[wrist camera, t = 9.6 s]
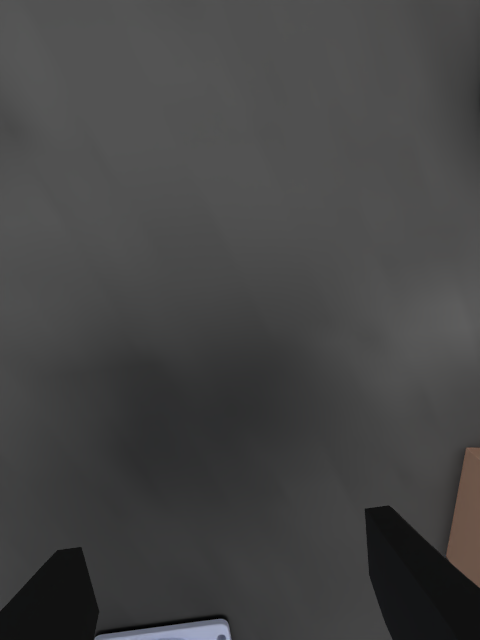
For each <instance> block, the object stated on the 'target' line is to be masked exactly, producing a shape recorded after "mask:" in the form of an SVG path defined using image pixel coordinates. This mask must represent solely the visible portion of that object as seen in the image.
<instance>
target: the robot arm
mask: <svg viewBox="0 0 480 640" xmlns="http://www.w3.org/2000/svg"><path fill="white" fill-rule="evenodd" d="M365 519H366V534H367V548H368V563H369V576H370V579H371V582H372V585H373V588H374V591H375V594H376V597H377V600H378V603H379V606H380V609H381V612H382V615H383V618H384V621H385V623H386V625H387V628H388V630H389V632H390V635H391V637H392V639H393V640H480V588H479V587H478V586H477V585H476V584H475V583H473V582H472V581H471V580H470V579H469V578H467V577H466V576H465V575H464V574H463V573H462V572H461V571H459V570H458V569H457V568H456V567H455V566H454V565H453V564H451V563H450V562H449V561H448V560H447V559H446V558H445V557H443V556H442V555H441V554H440V553H439V552H438V551H437V550H436V549H435V548H434V547H433V546H431V545H430V544H429V543H428V542H427V541H426V540H425V539H424V538H423V537H422V536H421V535H420V534H419V533H418V532H417V531H416V530H414V529H413V528H412V527H411V526H410V525H409V524H408V523H407V522H406V521H405V520H404V519H403V518H402V517H401V516H400V515H399V514H398V513H397V512H396V511H395V510H394V509H393V508H391V507H390V506H382V507H375V508H367V509H365ZM98 614H99V609H98V606H97V602H96V598H95V595H94V591H93V587H92V584H91V580H90V576H89V573H88V569H87V566H86V562H85V558H84V555H83V551H82V547H78V548H71V549H64V550H57V551H56V552H55V553H54V554H53V556H52V557H51V558H50V559H49V560H48V561H47V562H46V563H45V564H44V565H43V566H42V567H41V568H40V569H39V570H38V571H37V572H36V574H35V575H34V576H33V577H32V578H31V579H30V580H29V581H28V582H27V583H26V584H25V586H24V587H23V588H22V589H21V590H20V591H19V592H18V593H17V594H16V595H15V596H14V597H13V599H12V600H11V601H10V602H9V603H8V604H7V605H6V606H5V607H4V608H3V609H2V610H1V611H0V640H93V638H94V633H95V629H96V624H97V619H98ZM94 640H232V639H231V634H230V628H229V624H228V622H227V621H226V620H224V619H213V620H206V621H198V622H191V623H183V624H176V625H169V626H161V627H154V628H146V629H139V630H131V631H124V632H117V633H109V634H102V635H98V636H96V637H95V639H94Z"/></svg>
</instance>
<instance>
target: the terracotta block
mask: <svg viewBox="0 0 480 640" xmlns="http://www.w3.org/2000/svg"><path fill="white" fill-rule="evenodd" d="M446 557H447V558H448V560H449V561H450V563H451V564H453V565H454V566H455V567H456V568H457V569H458V570H459V571H461V572H462V573H463V574H464V575H465V576H466V577H467V578H469V579H470V580H471V581H472V582H473V583H475V584H476V585H477V586H478V587H479V588H480V448H466V452H465V457H464V462H463V468H462V473H461V478H460V484H459V489H458V495H457V500H456V505H455V511H454V516H453V522H452V527H451V532H450V538H449V543H448V548H447V554H446Z"/></svg>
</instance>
